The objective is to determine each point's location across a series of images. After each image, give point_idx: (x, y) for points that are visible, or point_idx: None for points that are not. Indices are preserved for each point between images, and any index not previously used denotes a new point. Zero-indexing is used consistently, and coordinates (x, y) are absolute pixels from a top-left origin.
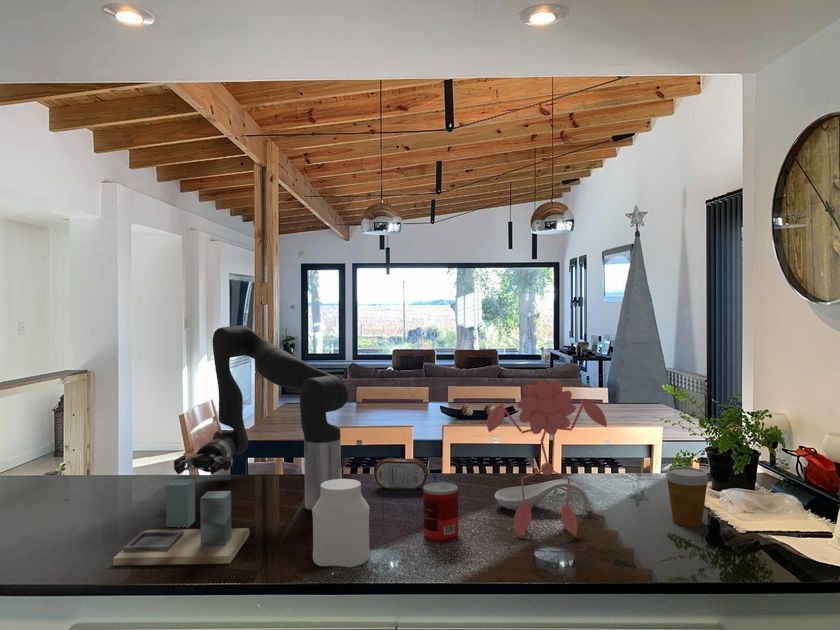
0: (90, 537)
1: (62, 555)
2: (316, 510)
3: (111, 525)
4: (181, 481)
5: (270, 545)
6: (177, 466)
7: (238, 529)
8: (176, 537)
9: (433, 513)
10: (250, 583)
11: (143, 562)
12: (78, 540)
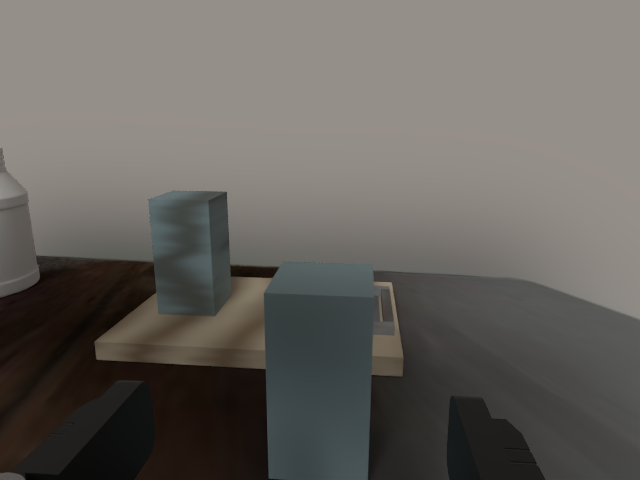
0: (586, 389)
1: (541, 325)
2: (22, 188)
3: (633, 471)
4: (322, 282)
5: (74, 320)
6: (474, 398)
7: (127, 338)
8: None
9: None
10: None
11: None
12: (600, 377)
